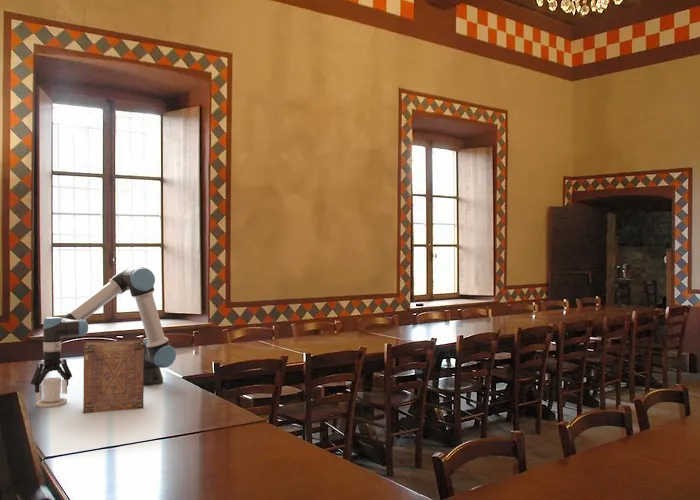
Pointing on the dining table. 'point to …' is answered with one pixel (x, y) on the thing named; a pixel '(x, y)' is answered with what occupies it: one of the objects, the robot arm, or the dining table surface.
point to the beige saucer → (51, 403)
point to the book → (113, 375)
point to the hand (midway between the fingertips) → (51, 396)
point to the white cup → (51, 389)
